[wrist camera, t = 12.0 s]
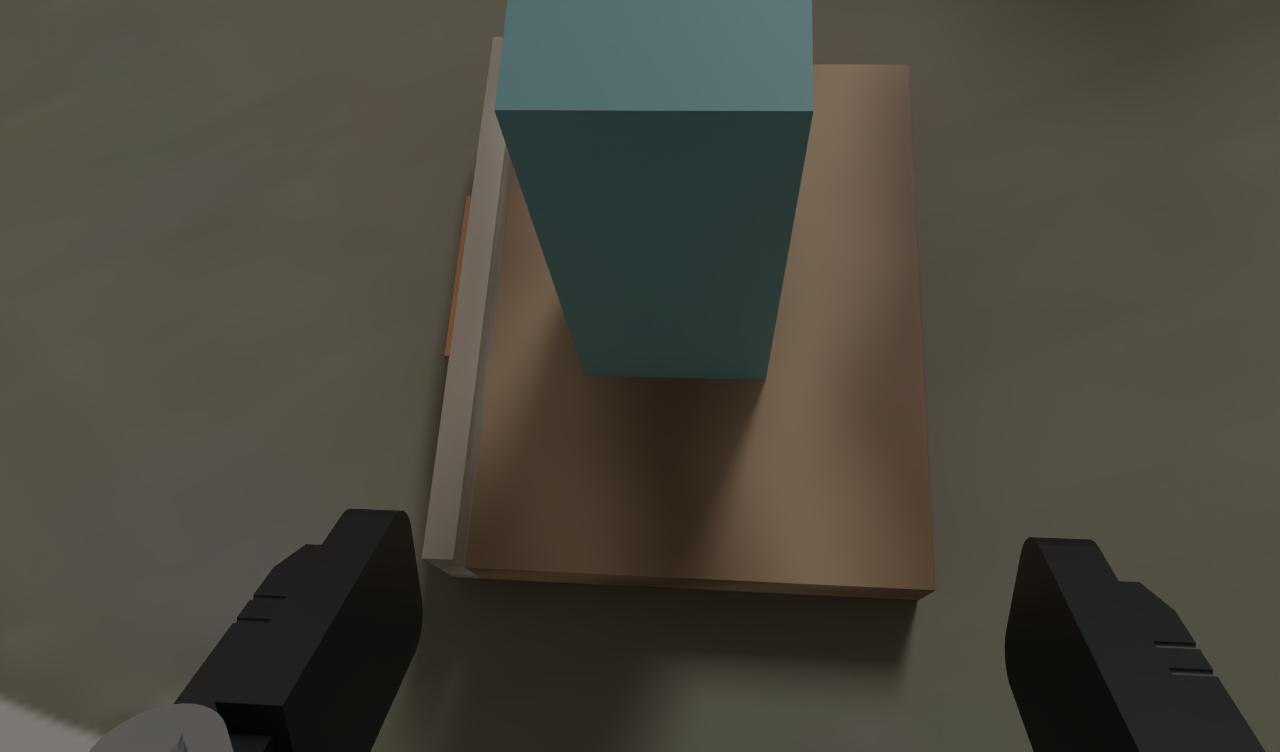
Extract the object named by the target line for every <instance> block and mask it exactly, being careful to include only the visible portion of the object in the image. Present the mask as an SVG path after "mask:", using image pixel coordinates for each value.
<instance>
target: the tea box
mask: <svg viewBox="0 0 1280 752" xmlns="http://www.w3.org/2000/svg"><path fill="white" fill-rule="evenodd" d="M494 111H495V114H496V117H497V120H498V123H499V126H500V129H501V132H502V135H503V137H504V140H505V143H506V146H507V149H508V152H509V155H510V158H511V161H512V164H513V167H514V170H515V173H516V176H517V178H518V181H519V184H520V187H521V190H522V193H523V196H524V199H525V202H526V205H527V208H528V211H529V214H530V217H531V219H532V222H533V225H534V228H535V231H536V234H537V237H538V240H539V243H540V246H541V249H542V252H543V255H544V258H545V261H546V263H547V266H548V269H549V272H550V275H551V278H552V281H553V284H554V287H555V290H556V293H557V296H558V299H559V302H560V304H561V307H562V310H563V313H564V316H565V319H566V322H567V325H568V328H569V331H570V334H571V337H572V340H573V343H574V345H575V348H576V351H577V354H578V357H579V360H580V363H581V366H582V369H583V372H584V375H585V376H623V377H663V378H702V379H741V380H766V376H767V371H768V365H769V359H770V354H771V348H772V342H773V337H774V331H775V326H776V320H777V314H778V309H779V303H780V297H781V292H782V286H783V280H784V275H785V269H786V263H787V258H788V252H789V247H790V241H791V235H792V230H793V224H794V218H795V213H796V207H797V201H798V196H799V190H800V184H801V179H802V173H803V168H804V162H805V156H806V151H807V145H808V139H809V134H810V128H811V122H812V117H813V48H812V0H508V4H507V12H506V20H505V28H504V36H503V44H502V51H501V59H500V67H499V75H498V83H497V91H496V99H495V107H494Z"/></svg>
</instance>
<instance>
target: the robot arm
mask: <svg viewBox="0 0 1280 752" xmlns="http://www.w3.org/2000/svg"><path fill="white" fill-rule="evenodd" d="M422 615H423V609H422V598H421V591H420V584H419V577H418V571H417V564H416V557H415V550H414V543H413V536H412V530H411V524H410V520H409V517H408V515H407V514H406V512H404V511H394V510H369V509H348V510H346V511H345V512H344V513H343V514H342V516H341V517H340V519H339V520H338V522H337V523H336V525H335V526H334V527H333V529H332V530H331V532H330V533H329V535H328V536H327V538H326V539H325V541H324V542H323V544H322V545H310V544H306V545H304V546H303V547H302V548H300V549H299V550H297V551H296V552H295V553H293V554H292V555H290V556H289V557H288V558H286V559H285V560H283V561H282V562H281V563H279V564H278V565H276V566H275V567H274V568H273V569H272V570H271V572H270V573H269V574H268V576H267V577H266V579H265V580H264V581H263V583H262V584H261V585H260V587H259V588H258V589H257V591H256V592H255V594H254V598H253V600H249V602H248V603H247V604H246V606H245V607H244V609H243V610H242V611H241V613H240V614H239V615H238V617H237V622H236V623H233V624H232V625H231V626H230V628H229V629H228V630H227V632H226V633H225V634H224V636H223V637H222V639H221V640H220V641H219V643H218V644H217V645H216V647H215V648H214V649H213V651H212V652H211V654H210V655H209V656H208V658H207V659H206V660H205V662H204V663H203V664H202V666H201V667H200V669H199V670H198V671H197V673H196V674H195V675H194V677H193V678H192V679H191V681H190V682H189V684H188V685H187V686H186V688H185V689H184V690H183V692H182V693H181V694H180V696H179V697H178V699H177V700H176V701H175V703H174V704H171V705H166V706H162V707H157V708H154V709H151V710H148V711H145V712H143V713H141V714H138V715H136V716H134V717H132V718H130V719H128V720H126V721H124V722H123V723H121V724H120V725H118V726H117V727H115V728H114V729H112V730H111V731H110V732H108V733H107V734H106V735H105V736H103V737H102V738H101V739H100V740H99V741H98V742H97V743H96V744H95V745H94V746H93V748H92V749H91V750H90V752H370V751H371V749H372V747H373V745H374V743H375V740H376V738H377V736H378V734H379V732H380V729H381V727H382V725H383V723H384V720H385V718H386V716H387V714H388V712H389V709H390V707H391V705H392V703H393V700H394V698H395V696H396V694H397V692H398V689H399V687H400V685H401V683H402V680H403V678H404V676H405V674H406V672H407V669H408V667H409V665H410V663H411V660H412V658H413V656H414V654H415V651H416V649H417V646H418V643H419V639H420V634H421V627H422ZM1005 662H1006V670H1007V676H1008V680H1009V684H1010V687H1011V690H1012V693H1013V695H1014V698H1015V701H1016V704H1017V706H1018V709H1019V712H1020V715H1021V718H1022V720H1023V723H1024V726H1025V729H1026V732H1027V734H1028V737H1029V740H1030V743H1031V746H1032V748H1033V751H1034V752H1265V750H1264V749H1263V747H1262V746H1261V744H1260V742H1259V741H1258V739H1257V738H1256V736H1255V735H1254V733H1253V731H1252V730H1251V728H1250V727H1249V725H1248V724H1247V722H1246V721H1245V719H1244V717H1243V716H1242V714H1241V713H1240V711H1239V710H1238V708H1237V707H1236V705H1235V703H1234V702H1233V700H1232V699H1231V697H1230V696H1229V694H1228V693H1227V691H1226V689H1225V688H1224V686H1223V685H1222V683H1221V682H1220V680H1219V678H1218V677H1214V676H1213V669H1212V668H1211V666H1210V664H1209V663H1208V661H1207V660H1206V658H1205V657H1204V655H1203V654H1202V652H1201V650H1199V649H1196V643H1195V641H1194V639H1193V638H1192V636H1191V635H1190V633H1189V632H1188V630H1187V629H1186V627H1185V625H1184V624H1183V622H1182V621H1181V619H1180V618H1179V616H1178V615H1177V613H1176V611H1175V610H1173V609H1172V608H1171V607H1170V606H1168V605H1167V604H1166V603H1165V602H1163V601H1162V600H1161V599H1160V598H1158V597H1157V596H1156V595H1155V594H1153V593H1152V592H1151V591H1150V590H1149V589H1147V588H1146V587H1145V586H1144V585H1142V584H1141V583H1140V582H1122V581H1118V579H1117V578H1116V576H1115V574H1114V573H1113V571H1112V569H1111V567H1110V566H1109V564H1108V562H1107V561H1106V559H1105V557H1104V555H1103V554H1102V552H1101V550H1100V549H1099V547H1098V546H1097V544H1096V543H1095V542H1094V541H1092V540H1087V539H1061V538H1036V537H1029V538H1028V539H1027V540H1026V541H1025V543H1024V545H1023V547H1022V551H1021V555H1020V561H1019V566H1018V571H1017V577H1016V582H1015V587H1014V592H1013V598H1012V603H1011V608H1010V614H1009V619H1008V624H1007V629H1006V636H1005Z"/></svg>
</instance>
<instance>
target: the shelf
mask: <svg viewBox="0 0 1280 752" xmlns="http://www.w3.org/2000/svg"><path fill="white" fill-rule="evenodd" d="M502 44H503V37H493V42H492V50H491V57H490V64H489V72H488V79H487V86H486V93H485V101H484V108H483V115H482V123H481V130H480V137H479V144H478V152H477V159H476V166H475V174H474V181H473V188H472V195H471V196H467V198H466V205H465V212H464V219H463V226H462V234H461V241H460V248H459V255H458V262H457V269H456V277H455V284H454V291H453V298H452V305H451V313H450V320H449V327H448V334H447V341H446V348H445V357H446V359H447V360H448V362H449V363H448V370H447V377H446V385H445V392H444V399H443V407H442V414H441V421H440V428H439V436H438V443H437V450H436V458H435V465H434V472H433V479H432V487H431V494H430V501H429V508H428V516H427V523H426V530H425V538H424V545H423V552H422V559H424V560H425V561H427V562H429V563H430V564H432V565H434V566H436V567H437V568H439V569H441V570H442V571H444V572H446V573H447V574H449V575H451V576H452V577H457V578H477V579H497V580H518V581H538V582H558V583H579V584H599V585H619V586H639V587H660V588H680V589H700V590H721V591H741V592H761V593H781V594H802V595H822V596H842V597H863V598H883V599H903V600H920V599H921V598H923V597H925V596H927V595H928V594H930V593H932V592H933V591H935V590H936V588H935V569H934V550H933V530H932V511H931V491H930V472H929V453H928V433H927V414H926V394H925V375H924V355H923V336H922V317H921V297H920V278H919V258H918V239H917V219H916V200H915V181H914V161H913V142H912V122H911V103H910V83H909V65H844V64H813V117H812V122H811V128H810V134H809V139H808V145H807V151H806V156H805V162H804V168H803V173H802V179H801V184H800V190H799V196H798V201H797V207H796V213H795V218H794V224H793V230H792V235H791V241H790V247H789V252H788V258H787V263H786V269H785V275H784V280H783V286H782V292H781V297H780V303H779V309H778V314H777V320H776V326H775V331H774V337H773V342H772V348H771V354H770V359H769V365H768V371H767V376H766V380H741V379H702V378H663V377H623V376H585V375H584V372H583V369H582V366H581V363H580V360H579V357H578V354H577V351H576V348H575V345H574V343H573V340H572V337H571V334H570V331H569V328H568V325H567V322H566V319H565V316H564V313H563V310H562V307H561V304H560V302H559V299H558V296H557V293H556V290H555V287H554V284H553V281H552V278H551V275H550V272H549V269H548V266H547V263H546V261H545V258H544V255H543V252H542V249H541V246H540V243H539V240H538V237H537V234H536V231H535V228H534V225H533V222H532V219H531V217H530V214H529V211H528V208H527V205H526V202H525V199H524V196H523V193H522V190H521V187H520V184H519V181H518V178H517V176H516V173H515V170H514V167H513V164H512V161H511V158H510V155H509V152H508V149H507V146H506V143H505V140H504V137H503V135H502V132H501V129H500V126H499V123H498V120H497V117H496V114H495V111H494V107H495V99H496V91H497V83H498V75H499V67H500V59H501V51H502Z"/></svg>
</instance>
